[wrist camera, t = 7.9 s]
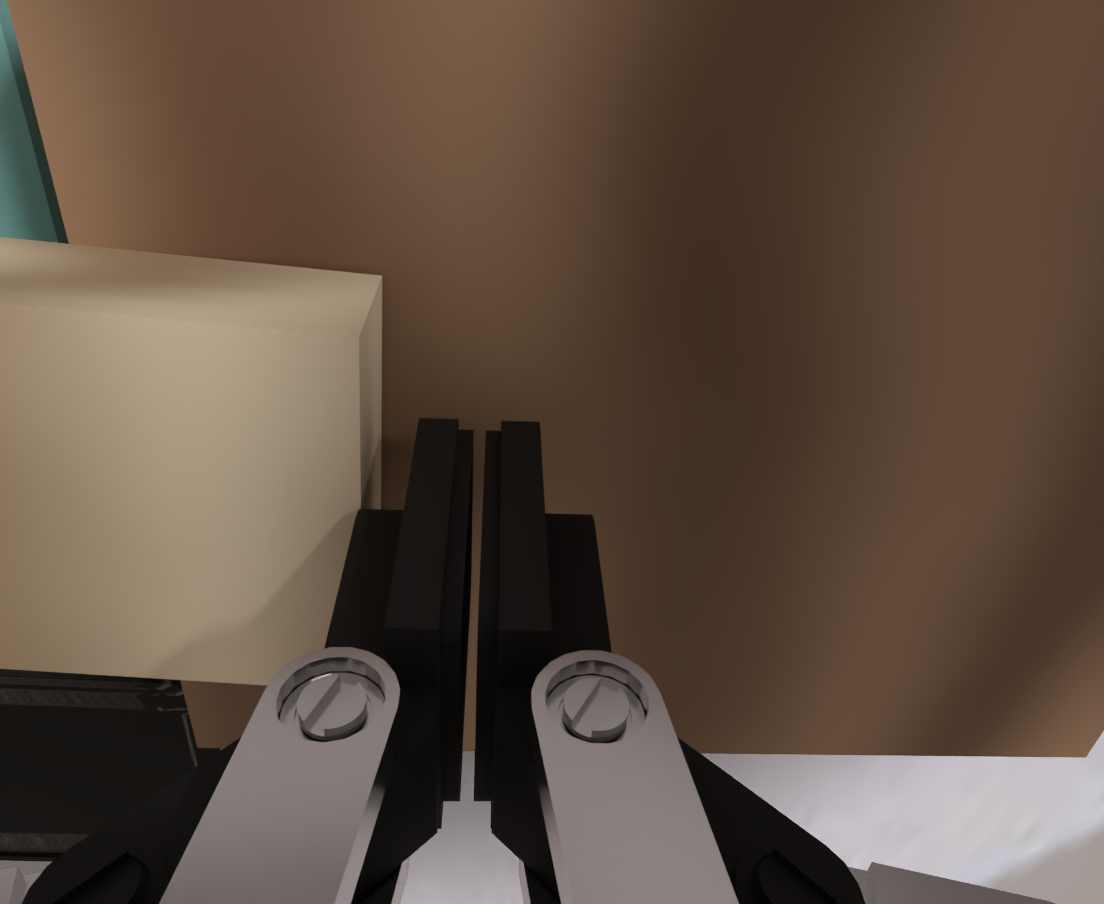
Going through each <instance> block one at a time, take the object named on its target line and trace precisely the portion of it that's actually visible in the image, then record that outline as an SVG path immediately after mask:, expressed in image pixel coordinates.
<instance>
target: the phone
mask: <svg viewBox="0 0 1104 904" xmlns="http://www.w3.org/2000/svg"><path fill="white" fill-rule="evenodd" d="M222 749H224V748H197V744H196V740H195V736H194V732H193V728H192V724H191V720H190V716H189V712H188V709H187V705H186V701H185V697H184V693H183V689H182V685H181V681H180V680H172V679H156V678H140V677H124V676H108V675H93V674H77V673H61V672H45V671H29V670H13V669H0V860H12V861H54V860H56V859H57V858H58V857H59V856H61V855H62V854H63V853H64V852H66V851H67V850H68V849H69V848H71V847H72V846H74V845H75V844H77V843H78V842H80V841H82V840H83V839H85V838H86V837H88V836H89V835H91V834H92V833H94V832H95V831H97V830H99V829H100V828H102V827H103V826H105V825H106V824H108V823H109V822H111V821H112V820H114V819H116V818H117V817H119V816H120V815H122V814H123V813H125V812H126V811H128V810H129V809H131V808H133V807H134V806H136V805H137V804H139V803H140V802H142V801H143V800H145V799H146V798H148V797H150V796H151V795H153V794H154V793H156V792H157V791H159V790H160V789H162V788H163V787H165V786H167V785H168V784H170V783H171V782H173V781H174V780H176V779H177V778H179V777H180V776H182V775H184V774H185V773H187V772H188V771H190V770H191V769H193V768H194V767H196V766H197V765H199V764H200V763H202V762H204V761H205V760H207V759H208V758H210V757H211V756H213V755H214V754H216V753H217V752H219V751H221V750H222Z"/></svg>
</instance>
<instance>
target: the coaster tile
mask: <svg viewBox="0 0 1104 904" xmlns="http://www.w3.org/2000/svg"><path fill="white" fill-rule="evenodd" d="M381 423H382V276H381V275H371V274H361V273H351V272H342V271H332V270H322V269H312V268H302V267H292V266H282V265H272V264H263V263H253V262H243V261H233V260H223V259H213V258H203V257H193V256H184V255H174V254H164V253H154V252H144V251H134V250H124V249H114V248H105V247H95V246H84V245H73V244H65V243H55V242H45V241H35V240H26V239H16V238H6V237H0V669H13V670H29V671H45V672H61V673H77V674H93V675H108V676H124V677H140V678H156V679H172V680H188V681H204V682H220V683H236V684H252V685H268V684H269V683H270V681H271V680H272V679H273V677H274V676H275V674H276V673H277V672H278V671H280V670H281V669H282V668H283V667H285V666H286V665H287V664H288V663H290V662H291V661H292V660H294V659H296V658H298V657H301V656H303V655H305V654H307V653H309V652H311V651H316V650H320V649H324V647H325V643H326V639H327V635H328V631H329V626H330V622H331V618H332V614H333V610H334V606H335V601H336V597H337V593H338V589H339V585H340V580H341V576H342V572H343V568H344V564H345V559H346V555H347V551H348V547H349V543H350V538H351V534H352V530H353V526H354V522H355V518H356V515H357V512H358V510H359V509H381Z"/></svg>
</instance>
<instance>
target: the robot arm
mask: <svg viewBox="0 0 1104 904" xmlns="http://www.w3.org/2000/svg"><path fill="white" fill-rule="evenodd" d="M473 440H474V431H473V430H463V429H459V420H458V419H440V418H419V421H418V427H417V433H416V439H415V445H414V451H413V457H412V463H411V469H410V475H409V481H408V487H407V493H406V499H405V505H404V510H387V509H359V510H358V512H357V515H356V518H355V522H354V526H353V530H352V534H351V538H350V543H349V547H348V551H347V555H346V559H345V564H344V568H343V572H342V576H341V580H340V585H339V589H338V593H337V597H336V601H335V606H334V610H333V614H332V618H331V622H330V626H329V631H328V635H327V639H326V643H325V647H324V649H320V650H316V651H311V652H309V653H307V654H305V655H303V656H301V657H298V658H296V659H294V660H292V661H291V662H290V663H288V664H287V665H286V666H285V667H283V668H282V669H281V670H280V671H278V672H277V673H276V674H275V676H274V677H273V679H272V680H271V681H270V683H269V684H268V686H267V687H266V688H265V690H264V692H263V694H262V696H261V699H260V701H259V703H258V705H257V707H256V709H255V711H254V713H253V715H252V717H251V719H250V721H249V723H248V725H247V727H246V729H245V731H244V733H243V735H242V737H241V738H239V739H238V740H236V741H234V742H233V743H231V744H230V745H228V746H227V747H225V748H224V749H222V750H221V751H219V752H217V753H216V754H214V755H213V756H211V757H210V758H208V759H207V760H205V761H204V762H202V763H200V764H199V765H197V766H196V767H194V768H193V769H191V770H190V771H188V772H187V773H185V774H184V775H182V776H180V777H179V778H177V779H176V780H174V781H173V782H171V783H170V784H168V785H167V786H165V787H163V788H162V789H160V790H159V791H157V792H156V793H154V794H153V795H151V796H150V797H148V798H146V799H145V800H143V801H142V802H140V803H139V804H137V805H136V806H134V807H133V808H131V809H129V810H128V811H126V812H125V813H123V814H122V815H120V816H119V817H117V818H116V819H114V820H112V821H111V822H109V823H108V824H106V825H105V826H103V827H102V828H100V829H99V830H97V831H95V832H94V833H92V834H91V835H89V836H88V837H86V838H85V839H83V840H82V841H80V842H78V843H77V844H75V845H74V846H72V847H71V848H69V849H68V850H67V851H66V852H64V853H63V854H62V855H61V856H59V857H58V858H57V859H56V860H54V861H53V862H52V863H51V864H49V865H48V866H47V867H46V868H45V869H44V871H40V872H36V873H31V874H26V875H22V873H21V871H20V869H19V867H18V866H14V867H9V868H5V869H0V904H400V902H401V899H402V895H403V891H404V887H405V883H406V879H407V875H408V865H409V856H411V855H412V854H413V853H414V852H415V851H416V850H418V849H419V848H420V847H421V846H422V845H423V844H424V843H426V842H427V841H428V840H429V839H430V838H431V837H433V836H434V835H435V834H436V833H437V829H441V825H442V811H443V801H460V791H461V772H462V753H463V734H464V716H465V697H466V678H467V659H468V640H469V621H470V602H471V574H472V507H473ZM474 801H491V829H492V833H493V834H494V835H495V836H496V837H497V838H498V839H499V840H500V841H501V842H502V843H503V844H504V845H505V846H506V847H508V848H509V849H510V850H511V851H512V852H513V853H514V854H515V855H516V856H517V857H518V858H519V878H520V884H521V890H522V896H523V902H524V904H1055V903H1052V902H1050V901H1046V900H1041V899H1037V898H1032V897H1027V896H1022V895H1018V894H1014V893H1009V892H1005V891H1000V890H996V889H991V888H987V887H982V886H978V885H973V884H969V883H964V882H960V881H955V880H951V879H946V878H941V877H937V876H932V875H928V874H923V873H919V872H914V871H910V870H905V869H901V868H896V867H892V866H887V865H883V864H878V863H874V862H871V864H870V867H869V869H868V871H865V870H860V869H856V868H851V867H847V866H846V864H845V863H844V862H843V861H842V860H841V859H840V858H839V857H838V856H837V855H836V854H835V853H833V852H832V851H831V850H830V849H829V848H828V847H827V846H826V845H824V844H823V843H822V842H820V841H819V840H818V839H816V838H815V837H813V836H812V835H811V834H809V833H808V832H807V831H805V830H804V829H803V828H801V827H800V826H798V825H797V824H796V823H794V822H793V821H792V820H790V819H789V818H788V817H786V816H785V815H783V814H782V813H781V812H779V811H778V810H777V809H775V808H774V807H772V806H771V805H770V804H768V803H767V802H766V801H764V800H763V799H762V798H760V797H759V796H757V795H756V794H755V793H753V792H752V791H751V790H749V789H748V788H747V787H745V786H744V785H742V784H741V783H740V782H738V781H737V780H736V779H734V778H733V777H732V776H730V775H729V774H727V773H726V772H725V771H723V770H722V769H721V768H719V767H718V766H716V765H715V764H714V763H712V762H711V761H710V760H708V759H707V758H706V757H704V756H703V755H701V754H700V753H699V752H697V751H696V750H695V749H693V748H692V747H691V746H689V745H688V744H686V743H685V742H684V741H682V740H681V739H680V738H678V737H677V736H676V733H675V730H674V728H673V725H672V722H671V720H670V717H669V714H668V712H667V709H666V706H665V703H664V701H663V698H662V695H661V693H660V691H659V689H658V687H657V686H656V684H655V682H654V681H653V679H652V677H651V676H650V675H649V674H648V673H646V672H645V671H644V670H643V669H642V668H641V667H640V666H639V665H638V664H636V663H634V662H632V661H630V660H628V659H627V658H625V657H623V656H621V655H617V654H613V653H612V650H611V643H610V635H609V628H608V620H607V612H606V605H605V597H604V590H603V582H602V575H601V567H600V559H599V552H598V544H597V537H596V529H595V523H594V517H593V516H592V514H551V513H545V501H544V483H543V465H542V447H541V430H540V422H534V421H503V420H501V431H496V430H486V439H485V463H484V487H483V511H482V535H481V559H480V583H479V607H478V636H477V679H476V727H475V774H474Z"/></svg>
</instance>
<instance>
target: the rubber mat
mask: <svg viewBox="0 0 1104 904" xmlns="http://www.w3.org/2000/svg"><path fill="white" fill-rule="evenodd" d="M0 237H6V238H16V239H26V240H35V241H45V242H55V243H65V244H69V242H68V238H67V234H66V230H65V227H64V223H63V219H62V215H61V211H60V207H59V203H58V199H57V195H56V191H55V187H54V183H53V180H52V176H51V172H50V168H49V164H48V160H47V156H46V152H45V148H44V144H43V140H42V136H41V133H40V129H39V125H38V121H37V117H36V113H35V109H34V105H33V101H32V97H31V93H30V89H29V85H28V82H27V78H26V74H25V70H24V66H23V62H22V58H21V54H20V50H19V46H18V42H17V38H16V35H15V31H14V27H13V23H12V19H11V15H10V11H9V7H8V3H7V0H0Z"/></svg>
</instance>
